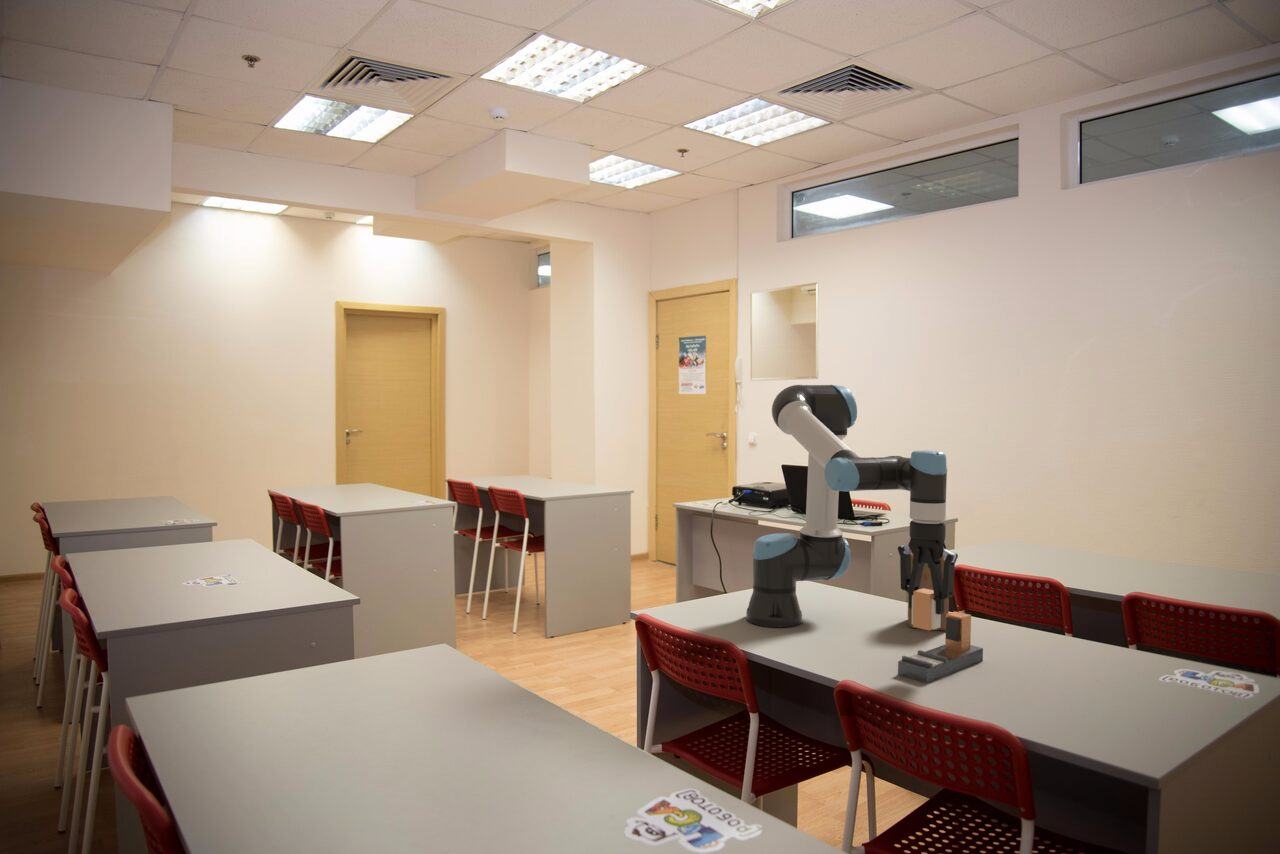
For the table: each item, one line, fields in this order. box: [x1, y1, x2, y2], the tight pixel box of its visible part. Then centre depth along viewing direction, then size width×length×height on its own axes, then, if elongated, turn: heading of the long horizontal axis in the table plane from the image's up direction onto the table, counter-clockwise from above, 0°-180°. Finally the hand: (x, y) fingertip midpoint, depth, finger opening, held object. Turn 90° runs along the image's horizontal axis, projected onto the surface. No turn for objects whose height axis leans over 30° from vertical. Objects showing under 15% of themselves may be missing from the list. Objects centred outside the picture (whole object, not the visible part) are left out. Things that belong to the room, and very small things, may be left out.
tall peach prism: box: [913, 588, 934, 631], centre depth 182 cm, size 4×5×8 cm
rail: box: [897, 611, 984, 684], centre depth 187 cm, size 7×24×11 cm, turn 130°
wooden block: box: [907, 552, 950, 632], centre depth 221 cm, size 10×10×20 cm
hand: (925, 625), depth 182 cm, fingers closed on tall peach prism, 4 cm apart
